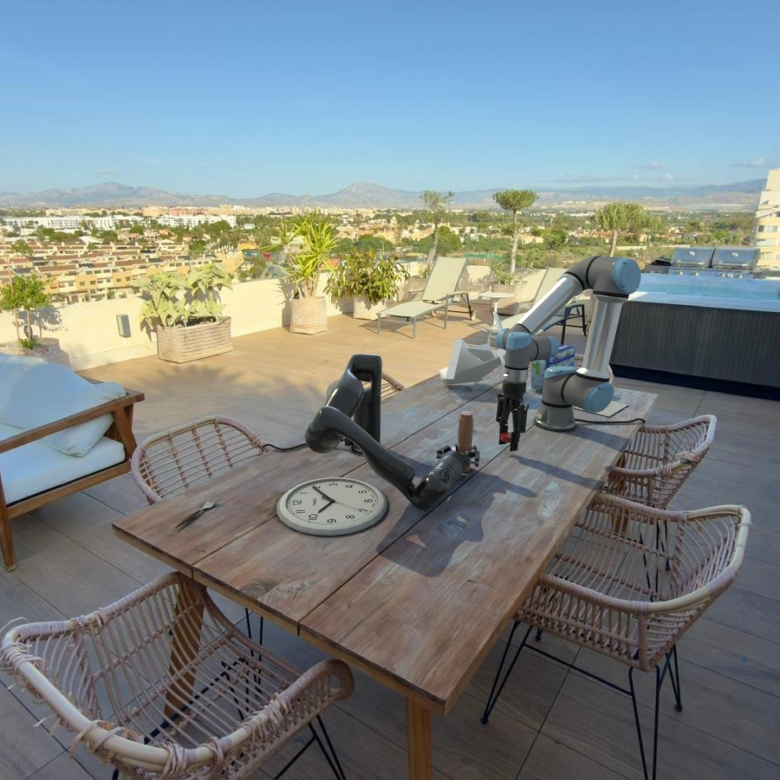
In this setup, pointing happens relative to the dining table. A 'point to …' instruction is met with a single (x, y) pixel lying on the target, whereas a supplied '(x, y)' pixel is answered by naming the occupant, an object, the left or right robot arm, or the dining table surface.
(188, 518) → the fork
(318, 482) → the wall clock
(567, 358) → the lunch box
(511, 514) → the dining table surface
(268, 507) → the dining table surface
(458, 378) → the white plastic object
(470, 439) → the wooden cylinder
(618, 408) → the invitation card
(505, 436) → the lid
